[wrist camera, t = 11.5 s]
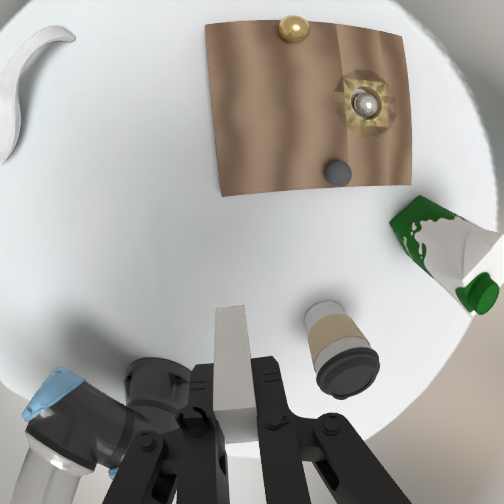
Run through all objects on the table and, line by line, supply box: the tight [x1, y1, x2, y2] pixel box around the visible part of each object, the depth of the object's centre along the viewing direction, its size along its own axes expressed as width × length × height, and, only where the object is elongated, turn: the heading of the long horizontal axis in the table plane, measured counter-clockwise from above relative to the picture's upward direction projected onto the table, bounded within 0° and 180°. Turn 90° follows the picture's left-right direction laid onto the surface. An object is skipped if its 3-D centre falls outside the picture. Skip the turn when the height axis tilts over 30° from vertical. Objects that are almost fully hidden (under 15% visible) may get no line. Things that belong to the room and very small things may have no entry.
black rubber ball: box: [326, 161, 352, 187], centre depth 31 cm, size 3×3×3 cm
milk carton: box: [390, 195, 504, 317], centre depth 30 cm, size 9×9×20 cm
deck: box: [205, 20, 412, 197], centre depth 30 cm, size 26×22×2 cm
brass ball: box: [278, 15, 310, 42], centre depth 24 cm, size 4×4×4 cm
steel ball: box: [354, 93, 378, 116], centre depth 30 cm, size 3×3×3 cm
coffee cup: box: [305, 301, 380, 400], centre depth 38 cm, size 9×9×15 cm
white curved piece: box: [0, 26, 76, 165], centre depth 23 cm, size 24×12×7 cm, turn 135°
